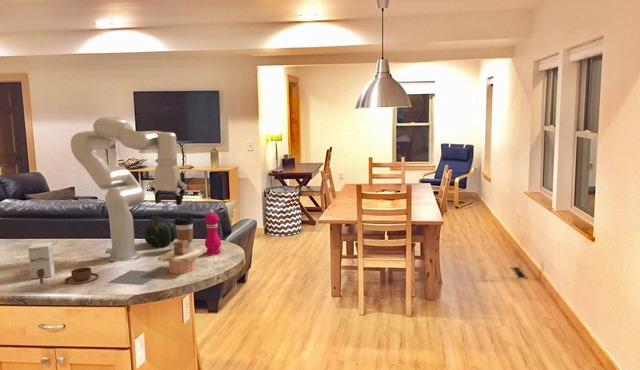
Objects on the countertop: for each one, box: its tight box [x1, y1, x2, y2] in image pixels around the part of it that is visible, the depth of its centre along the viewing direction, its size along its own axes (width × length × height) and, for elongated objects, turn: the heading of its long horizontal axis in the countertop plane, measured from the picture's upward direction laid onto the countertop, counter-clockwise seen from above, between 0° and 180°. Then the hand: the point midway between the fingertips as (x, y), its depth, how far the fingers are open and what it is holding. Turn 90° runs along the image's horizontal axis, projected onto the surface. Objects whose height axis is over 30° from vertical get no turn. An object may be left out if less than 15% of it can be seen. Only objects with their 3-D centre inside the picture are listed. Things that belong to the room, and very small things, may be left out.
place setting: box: [37, 266, 100, 288], centre depth 195 cm, size 18×20×6 cm
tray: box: [106, 269, 165, 286], centre depth 195 cm, size 15×15×1 cm
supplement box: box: [27, 241, 56, 280], centre depth 201 cm, size 7×7×13 cm
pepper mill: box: [204, 209, 222, 256], centre depth 227 cm, size 7×7×20 cm
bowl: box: [168, 258, 196, 275], centre depth 203 cm, size 10×10×6 cm
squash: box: [143, 216, 177, 247], centre depth 245 cm, size 14×15×15 cm
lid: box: [157, 239, 205, 262], centre depth 202 cm, size 13×13×6 cm
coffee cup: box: [174, 216, 194, 249], centre depth 235 cm, size 8×8×15 cm
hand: (168, 203), depth 210 cm, fingers open, 9 cm apart
